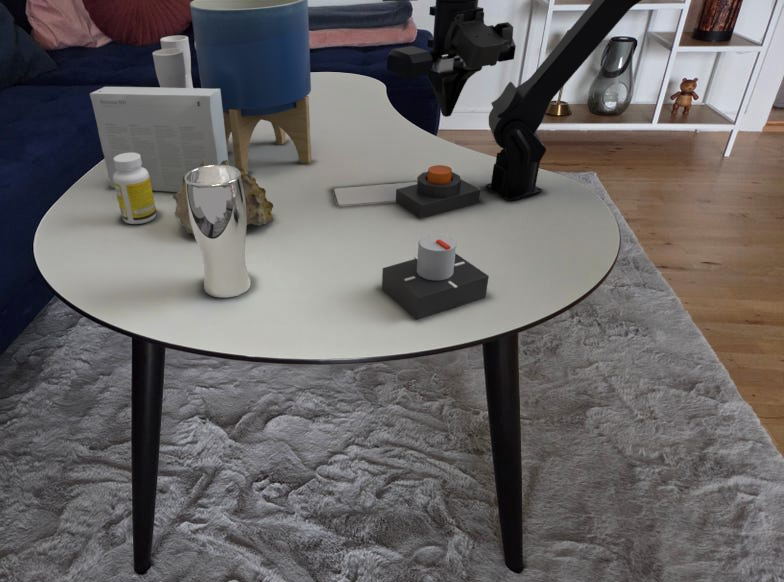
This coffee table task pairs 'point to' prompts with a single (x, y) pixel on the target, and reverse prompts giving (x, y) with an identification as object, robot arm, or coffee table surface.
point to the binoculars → (173, 63)
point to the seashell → (254, 198)
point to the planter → (257, 68)
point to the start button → (439, 174)
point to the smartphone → (368, 194)
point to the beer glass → (219, 227)
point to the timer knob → (436, 256)
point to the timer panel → (433, 287)
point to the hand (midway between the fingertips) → (446, 115)
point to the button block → (437, 196)
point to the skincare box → (161, 130)
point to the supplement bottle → (133, 189)
